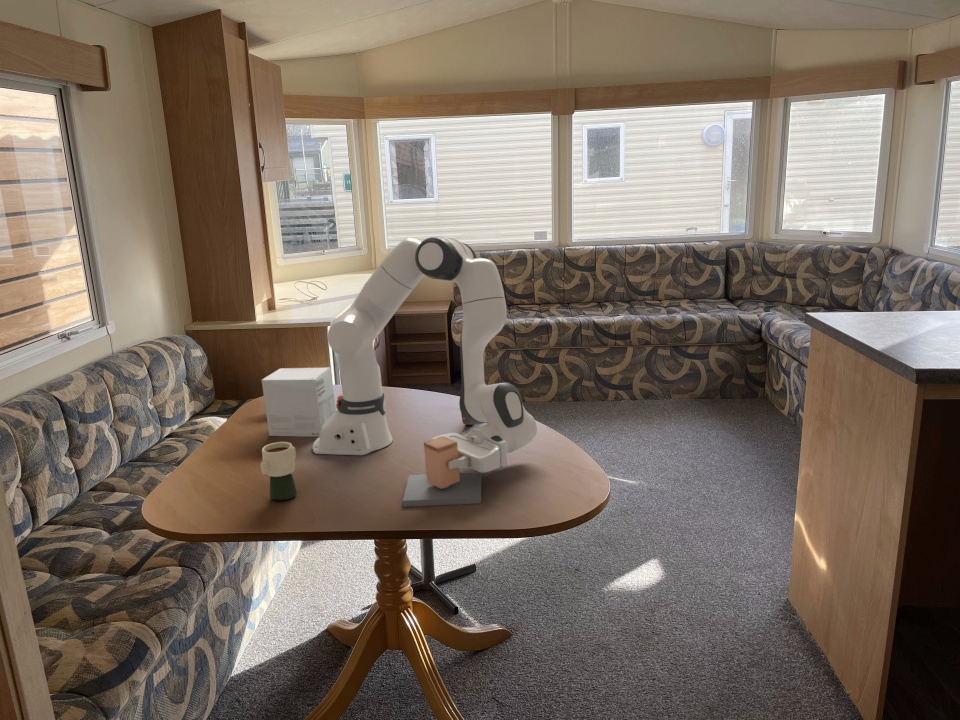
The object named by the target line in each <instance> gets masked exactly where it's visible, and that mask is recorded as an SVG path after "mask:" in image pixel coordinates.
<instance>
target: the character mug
mask: <svg viewBox="0 0 960 720" xmlns="http://www.w3.org/2000/svg"><path fill="white" fill-rule="evenodd" d="M261 455H262V456H261V457H262V461H261V462H260V471H261V474H262V475H264V476H266V475H267V476H269V497H270V499H271V500H276V501H277V500H279V501H280V500H281V501H282V500H283V501H284V500H288V499H292V498H294V497H295V496H296V494H297V493H298V492H297V487H296V484H295V480H294V478H293V472H294V471H295V469H296V465H295V464H296V462H295V460H296V459H297V453H296V447H295V446H293V445H292V443H291V442H289V441H278V442H272V443H269V444H266V445H264V446H263V447H262V449H261Z"/></svg>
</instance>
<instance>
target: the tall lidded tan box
mask: <svg viewBox="0 0 960 720" xmlns="http://www.w3.org/2000/svg"><path fill="white" fill-rule="evenodd" d="M423 447H424V448H423V450H424V461H425V471H426V474H427V482H429V483H431V484H433V485H435V486H437V487H439V488H441V489H442V488H444V487H447V486H449V485H452V484H454V483H457V482H459V481H460V475H459V473H460V467H457V468H453V469H449V468H447V467H446V461H447V460H450V459H458V447H457V442H456V441H453V440H451V439H448V438H446V437H443V436H442V437H439V438H436V439H433V440H428V441H425V442H423Z"/></svg>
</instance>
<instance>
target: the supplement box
mask: <svg viewBox="0 0 960 720" xmlns="http://www.w3.org/2000/svg"><path fill="white" fill-rule="evenodd" d="M331 369H332V368H331V367H329V366H328V367H288V368H287V367H285V368H284V367H282V368H278V369H277V370H275V371H274V372H272V373H271V374H269V375H267V376H265V377H264V378H262V379H261V385H262V391H263V393H262V394H263V399H264V407H265V414H266V420H267V421H266V422H267V429H268V435H269V437H306V438H307V437H311V438H313V437H314V438H315V437H317V438H319V437H320V431H321V427H322V425H323V423H324V422H325V421H326V420H327V419H328V418H329V417H331V416H332V415H333V414H334V413H335V412H336V411H337V410H336V409H337V408H336V401H335V393H334V385H333V378H332V377H333V375H332V370H331Z"/></svg>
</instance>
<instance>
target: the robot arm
mask: <svg viewBox="0 0 960 720" xmlns="http://www.w3.org/2000/svg"><path fill="white" fill-rule="evenodd" d="M424 277H427V278H430V279H432V280H433V279H434V280H437V281H440V282H441V281H442V282H454V283H455V284H456V285H457V287H458V289H459V292H460V297H461V304H462V311H463V312H462V314H463V317H462V319H463V320H462V321H463V322H462V330H461V333H460V339H459V341H460V342H459V348H460V349H459V350H460V351H459V353H460V375H461V377H460V378H461V389H460V396H459V403H458V404H459V410H460V414H461V413H462V415H463V417H464V418H465V419H466V420H467V421H468V422H470V423H472V424H474V425H481V426H479V427H476V428H473V429H471V430H470V431H469V432H468V434H467V436H466V435H464V434H461V433H458V432H448V433H444V434H440V435H436V436H433V437H432V438H431V440H433V439H436V438H439V437H442V436H443V437H446V438H448V439H451V440H453V441H456V442H457V447H458V459H450V460H447V461H446V467H447V468H449V469H453V468H457V467H459V468H469V469H471V470H473V471H474V472H481V474H484V473H489V472H491V471H494V470H497V469H499V468H504V467H506V466H507V465H508V454H511V453H514V452H516V451H519V450H520V449H523V448H525V447H526V446H528V445H529V444H531V442H533V440H534V439H535V437H536V435H537V431H538V430H537V429H538V427H537V426H538V425H537V422H536V420H535V418H534V417H533V415H531V414H530V413H529V412H528V411H527V410H526V408H525V406H524V404H523V400H522V396H521V393H520V391H519V389H517V387H516V386H515V385H514V384H512V383H510V382H499V383H493V384H487V383H486V382H485V369H484V368H485V366H484V365H485V364H484V353H485V349H486V347H487V345H488V344H489V343H490V341H491V340H492V339H494V338H495V336H496V335H497V334H499V333H500V332H501V331H502V329H503V328H504V326H505V324H506V321H507V315H508V311H507V302H506V298H505V291H504V287H503V283H502V278H501V275H500V273H499V269H498V267H497V265H496V264H495V262H494V261H492V260H491V259H489V258H484V257H477V255H476V253H475V251H474V250H473V248H472V247H471V246H469V245H468V244H466V243H464V242H461V241H459V240H457V239H455V238H449V237H443V236H431V237H428V238H425V239H424V240H420V239H418V238H414V237H407V238H406V237H405V238H404V239H403V240H402V241H400V242H399V243H397V245H396V246H395V247H393V249H392V250H391V251H389V253H388V254H387V255H386V256H385V258H384V259H383V260H382V261H381V262H380V264H379V265H378V266H377V267H376V269H375V270H374V271H373V273H372V274H371V276H370V277H369V278H368V280H367V281H366V282H365V283H364V284H363V287H362V288H361V290H360V291H359V293H358V295H357V296H356V298H355V299H354V301H353V302H352V303H351V305H350V306H349V307H348V308H347V309H346V310H345V312H343V313H342V314H341V315H339V316H337V317H336V318H335V319H334V320H333V321H332V323H331V325H330V326H329V329H328V332H327V343H328V345H329V347H330V348H331V349H332V351H333V353H334V356H335V360H336V363H337V366H338V369H339V373H340V374H339V375H340V382H341V391H342V393H340V394H339V395H338V397H337V399H336V402H335V408H336V409H337V410H336V412H335V413H334V414H333V415H332V416H331V417H329V418H328V419H327V420H326V421H325V422H324V423H323V425H322V427H321V431H320V437H317V438H316V439H315V440H314V443H313V444H312V452H313V453H314V454H316V455H338V456H339V455H341V456H345V455H346V456H347V455H348V456H365V455H367V454H369V453H372V452H374V451H377V450H381V449H383V448H386V447H387V446H389V445H390V444H392V442H393V439H394V438H393V437H392V435H391V431H390V429H389V424H388V421H387V417H386V412H387V411H386V410H387V404H386V398H385V393H384V392H383V385H382V376H381V367H380V365H379V363H378V361H377V358H376V355H375V351H374V346H373V345H374V340H375V339H377V337H378V336H379V335H380V334H381V332H382V331H383V329H385V327H386V325H387V324H388V323H389V322H390V320H391V319H392V318H393V316H394V315H395V314H396V312H397V311H398V309H400V307H401V305H403V303H404V302H405V301H406V300H407V298H408V297H409V295H410V294H412V292H413V291H414V290H415V288H416V287H417V286H418V284H419V283H420V281H421V280H422V279H424ZM462 415H461V416H462ZM483 424H484V425H483Z"/></svg>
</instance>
